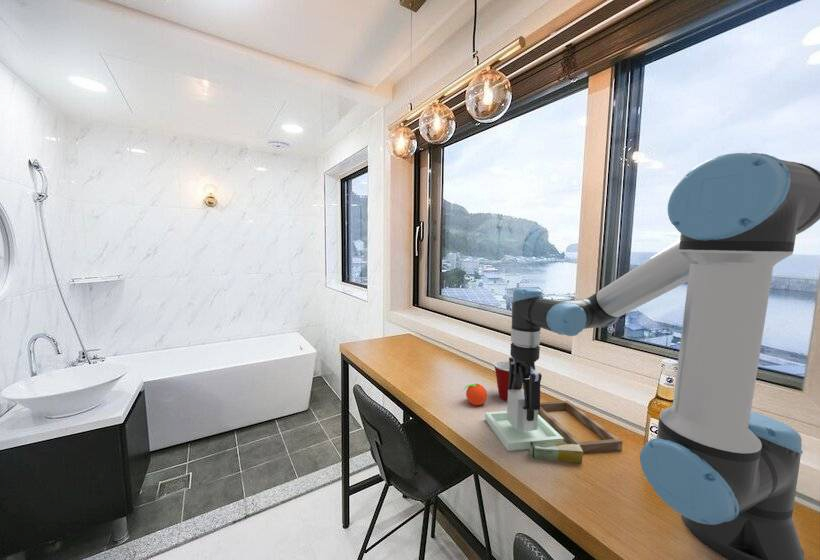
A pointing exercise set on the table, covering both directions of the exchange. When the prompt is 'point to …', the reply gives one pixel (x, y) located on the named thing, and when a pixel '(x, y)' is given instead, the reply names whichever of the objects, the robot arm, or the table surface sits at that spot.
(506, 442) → the tray
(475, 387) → the clementine
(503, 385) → the plastic cup
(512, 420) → the stone block
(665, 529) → the table surface
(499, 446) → the table surface
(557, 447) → the medication box
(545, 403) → the brown wooden frame
